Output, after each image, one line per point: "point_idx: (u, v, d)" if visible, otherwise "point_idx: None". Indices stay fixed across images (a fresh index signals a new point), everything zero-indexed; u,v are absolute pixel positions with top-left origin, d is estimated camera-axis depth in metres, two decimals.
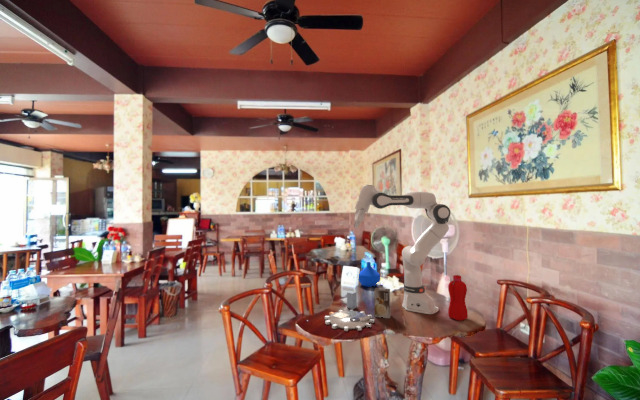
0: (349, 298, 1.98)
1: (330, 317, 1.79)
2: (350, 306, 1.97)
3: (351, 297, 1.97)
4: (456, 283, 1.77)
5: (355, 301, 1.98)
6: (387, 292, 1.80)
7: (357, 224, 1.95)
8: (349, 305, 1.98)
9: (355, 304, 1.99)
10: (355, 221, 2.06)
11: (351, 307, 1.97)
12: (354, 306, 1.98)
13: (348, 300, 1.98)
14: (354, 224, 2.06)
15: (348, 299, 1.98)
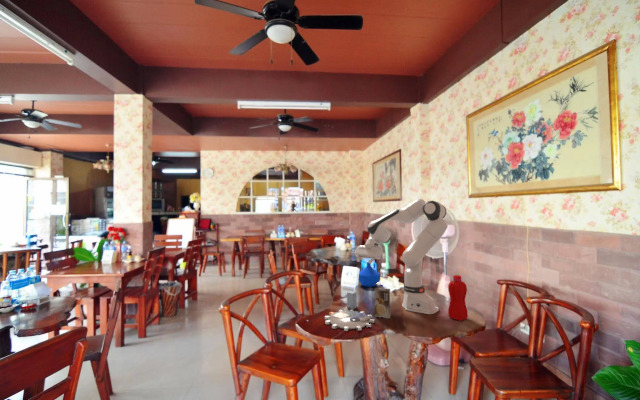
0: (349, 298, 1.98)
1: (330, 317, 1.79)
2: (350, 306, 1.97)
3: (351, 297, 1.97)
4: (456, 283, 1.77)
5: (355, 301, 1.98)
6: (387, 292, 1.80)
7: None
8: (349, 305, 1.98)
9: (355, 304, 1.99)
10: None
11: (351, 307, 1.97)
12: (354, 306, 1.98)
13: (348, 300, 1.98)
14: None
15: (348, 299, 1.98)
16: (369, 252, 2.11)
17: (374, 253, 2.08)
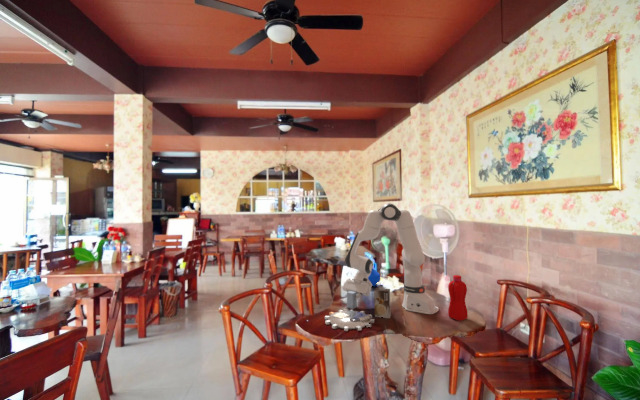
0: (349, 298, 1.98)
1: (330, 317, 1.79)
2: (350, 306, 1.97)
3: (351, 297, 1.97)
4: (456, 283, 1.77)
5: (355, 301, 1.98)
6: (387, 292, 1.80)
7: None
8: (349, 305, 1.98)
9: (355, 304, 1.99)
10: None
11: (351, 307, 1.97)
12: (354, 306, 1.98)
13: (348, 300, 1.98)
14: None
15: (348, 299, 1.98)
16: (358, 288, 2.00)
17: (363, 289, 1.98)
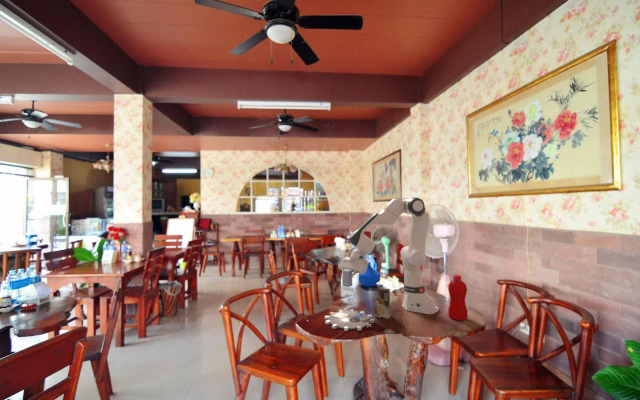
0: (344, 276, 1.92)
1: (330, 317, 1.79)
2: (345, 284, 1.91)
3: (346, 275, 1.91)
4: (456, 283, 1.77)
5: (350, 279, 1.92)
6: (387, 292, 1.80)
7: None
8: (344, 283, 1.92)
9: (350, 282, 1.92)
10: None
11: (346, 285, 1.91)
12: (349, 284, 1.92)
13: (343, 278, 1.92)
14: (352, 275, 1.93)
15: (343, 277, 1.92)
16: (354, 266, 1.94)
17: (358, 267, 1.92)
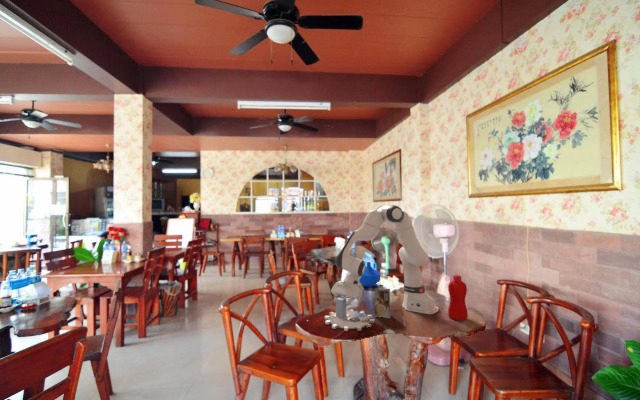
0: (338, 305, 1.80)
1: (330, 317, 1.79)
2: (339, 314, 1.79)
3: (340, 304, 1.79)
4: (456, 283, 1.77)
5: (344, 308, 1.80)
6: (387, 292, 1.80)
7: None
8: (338, 312, 1.80)
9: (345, 312, 1.80)
10: None
11: (340, 315, 1.79)
12: (343, 314, 1.80)
13: (337, 307, 1.80)
14: None
15: (337, 306, 1.80)
16: (348, 292, 1.82)
17: (353, 293, 1.80)
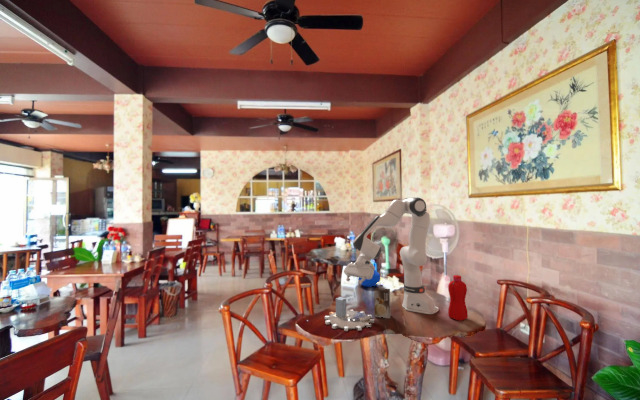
0: (338, 305, 1.80)
1: (330, 317, 1.79)
2: (339, 314, 1.79)
3: (340, 304, 1.79)
4: (456, 283, 1.77)
5: (344, 308, 1.80)
6: (387, 292, 1.80)
7: None
8: (338, 312, 1.80)
9: (345, 312, 1.80)
10: None
11: (340, 315, 1.79)
12: (343, 314, 1.80)
13: (337, 307, 1.80)
14: (361, 281, 1.89)
15: (337, 306, 1.80)
16: (360, 271, 1.92)
17: (365, 272, 1.89)
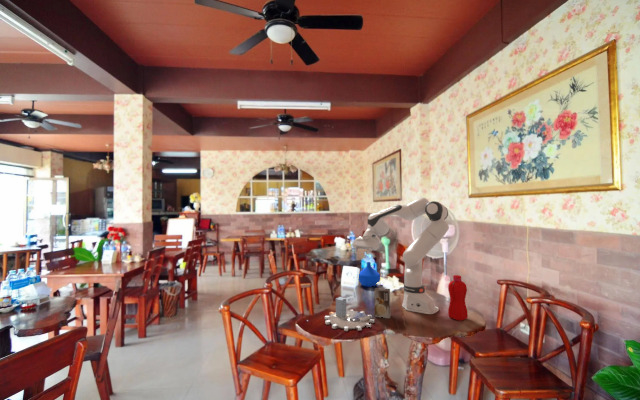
0: (338, 305, 1.80)
1: (330, 317, 1.79)
2: (339, 314, 1.79)
3: (340, 304, 1.79)
4: (456, 283, 1.77)
5: (344, 308, 1.80)
6: (387, 292, 1.80)
7: None
8: (338, 312, 1.80)
9: (345, 312, 1.80)
10: None
11: (340, 315, 1.79)
12: (343, 314, 1.80)
13: (337, 307, 1.80)
14: (368, 252, 2.10)
15: (337, 306, 1.80)
16: (367, 244, 2.12)
17: (371, 244, 2.10)
